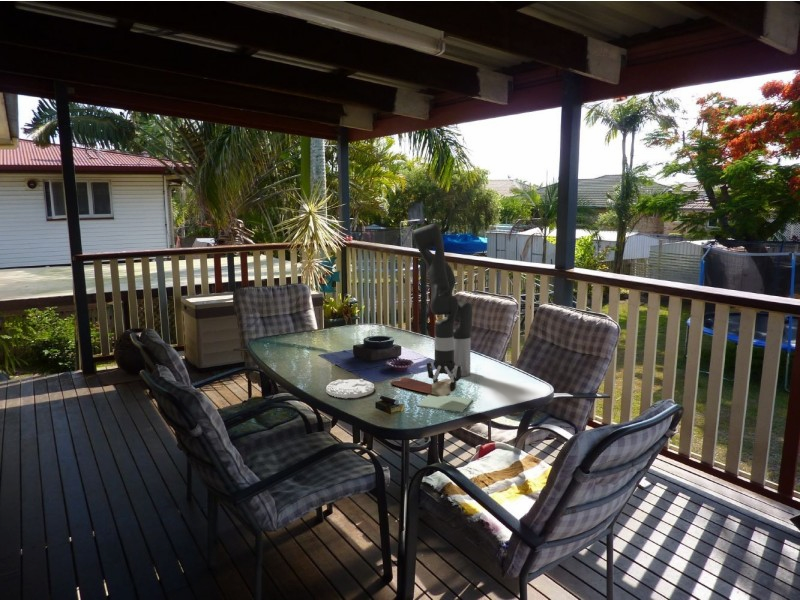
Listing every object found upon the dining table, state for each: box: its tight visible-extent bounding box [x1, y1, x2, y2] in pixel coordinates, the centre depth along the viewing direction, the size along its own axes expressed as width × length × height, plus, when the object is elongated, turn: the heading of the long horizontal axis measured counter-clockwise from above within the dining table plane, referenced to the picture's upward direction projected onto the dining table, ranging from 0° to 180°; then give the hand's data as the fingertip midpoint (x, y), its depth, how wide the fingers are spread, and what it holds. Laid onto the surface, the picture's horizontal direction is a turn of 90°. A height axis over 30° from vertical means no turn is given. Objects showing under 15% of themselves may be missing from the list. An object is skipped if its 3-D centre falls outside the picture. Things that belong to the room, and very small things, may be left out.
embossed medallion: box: [325, 378, 375, 400], centre depth 243 cm, size 20×20×3 cm
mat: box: [416, 393, 474, 413], centre depth 226 cm, size 14×18×1 cm
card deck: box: [431, 377, 458, 396], centre depth 225 cm, size 5×9×4 cm, turn 138°
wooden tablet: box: [389, 377, 433, 395], centre depth 243 cm, size 27×10×2 cm, turn 45°
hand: (444, 389), depth 225 cm, fingers closed on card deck, 6 cm apart
